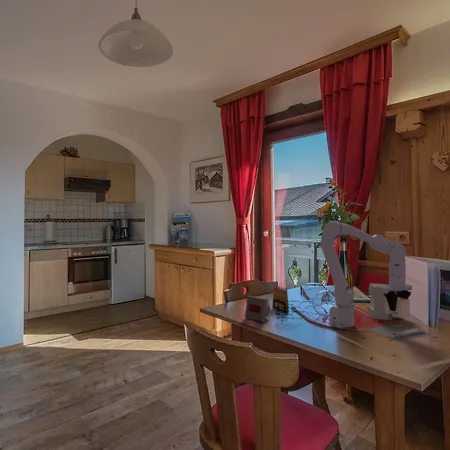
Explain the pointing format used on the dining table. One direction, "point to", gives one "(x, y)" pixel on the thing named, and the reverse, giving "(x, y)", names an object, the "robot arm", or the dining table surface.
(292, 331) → the dining table surface
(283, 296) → the ammunition clip
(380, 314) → the circuit breaker
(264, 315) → the voltmeter
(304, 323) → the dining table surface
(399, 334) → the din rail
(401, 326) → the board
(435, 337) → the dining table surface
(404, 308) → the block
